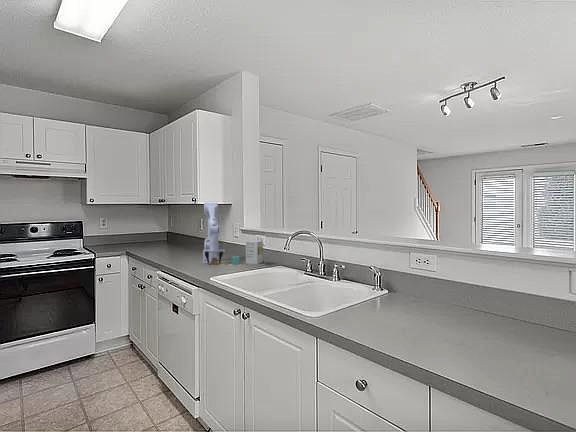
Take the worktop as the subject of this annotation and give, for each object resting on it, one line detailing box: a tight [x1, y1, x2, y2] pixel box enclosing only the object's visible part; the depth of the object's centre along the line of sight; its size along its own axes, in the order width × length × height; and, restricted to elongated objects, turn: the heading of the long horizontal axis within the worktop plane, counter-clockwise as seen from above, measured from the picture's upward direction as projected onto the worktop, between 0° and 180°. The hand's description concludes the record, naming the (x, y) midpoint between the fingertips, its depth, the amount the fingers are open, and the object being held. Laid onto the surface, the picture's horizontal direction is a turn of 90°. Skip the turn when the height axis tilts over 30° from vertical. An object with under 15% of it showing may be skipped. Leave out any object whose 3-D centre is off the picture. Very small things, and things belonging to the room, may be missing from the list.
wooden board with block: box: [210, 257, 242, 266], centre depth 233 cm, size 20×8×5 cm, turn 96°
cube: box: [231, 255, 240, 266], centre depth 234 cm, size 5×5×5 cm
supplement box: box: [245, 240, 264, 265], centre depth 240 cm, size 10×9×17 cm
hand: (214, 263), depth 232 cm, fingers open, 7 cm apart
